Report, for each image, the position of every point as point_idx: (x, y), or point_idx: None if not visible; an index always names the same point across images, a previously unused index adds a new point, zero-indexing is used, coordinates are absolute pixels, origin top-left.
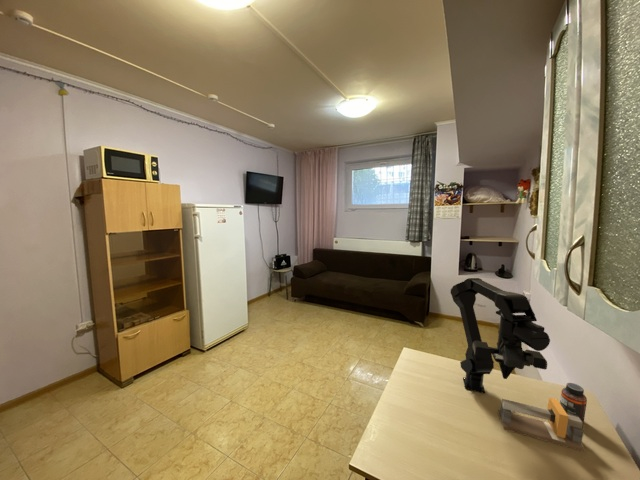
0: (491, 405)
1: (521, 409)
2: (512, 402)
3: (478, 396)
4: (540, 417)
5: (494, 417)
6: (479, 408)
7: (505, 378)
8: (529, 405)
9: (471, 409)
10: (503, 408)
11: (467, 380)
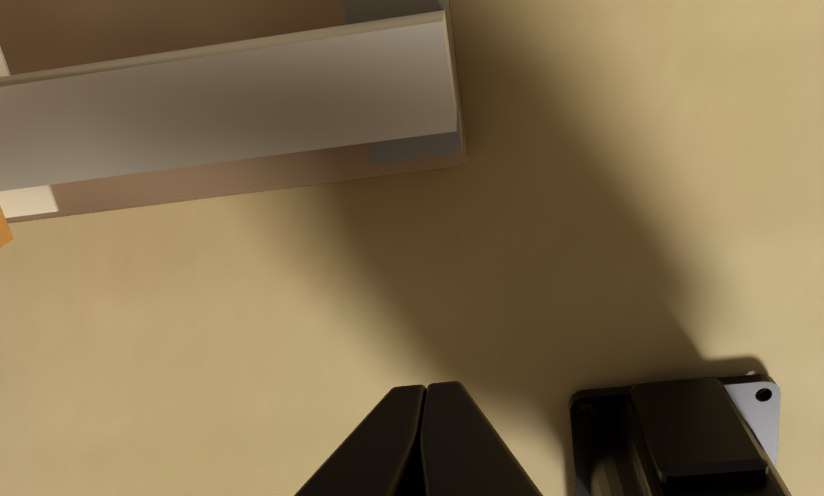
0: (522, 236)
1: (205, 51)
2: (315, 113)
3: (641, 317)
4: (5, 78)
5: (513, 45)
6: (660, 115)
7: (417, 387)
8: (97, 171)
9: (760, 44)
10: (441, 11)
11: (775, 470)
